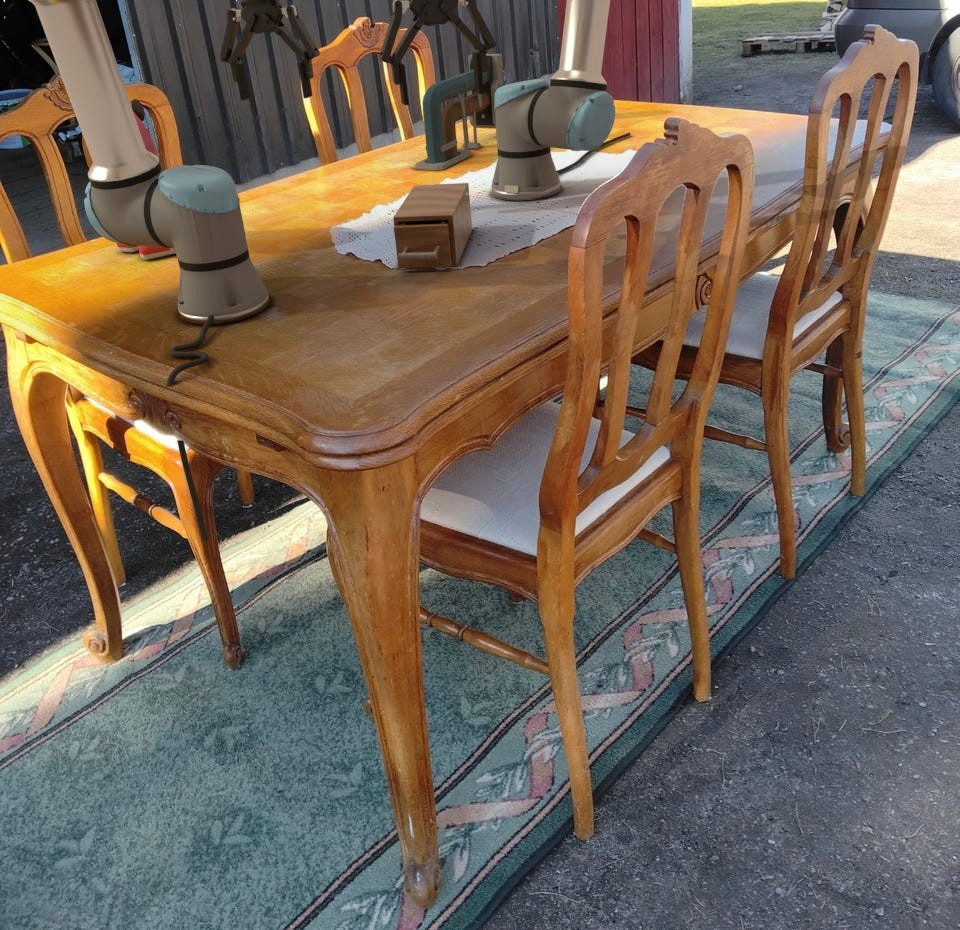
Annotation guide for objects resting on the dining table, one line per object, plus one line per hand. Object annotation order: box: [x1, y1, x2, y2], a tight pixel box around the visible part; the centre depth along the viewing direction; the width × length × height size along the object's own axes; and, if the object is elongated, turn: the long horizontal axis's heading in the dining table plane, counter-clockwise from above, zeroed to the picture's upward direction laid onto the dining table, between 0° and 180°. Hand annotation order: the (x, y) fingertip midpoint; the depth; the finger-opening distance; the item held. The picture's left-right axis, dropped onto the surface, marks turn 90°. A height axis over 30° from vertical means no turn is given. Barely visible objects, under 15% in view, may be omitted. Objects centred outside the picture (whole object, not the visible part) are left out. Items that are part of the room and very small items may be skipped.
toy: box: [81, 98, 176, 260], centre depth 191 cm, size 21×10×30 cm, turn 47°
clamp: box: [413, 53, 504, 171], centre depth 247 cm, size 35×9×21 cm, turn 151°
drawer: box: [393, 220, 452, 269], centre depth 179 cm, size 25×10×8 cm, turn 173°
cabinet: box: [392, 182, 473, 267], centre depth 184 cm, size 21×11×9 cm, turn 173°
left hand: (276, 98), depth 192 cm, fingers open, 13 cm apart
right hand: (442, 98), depth 170 cm, fingers open, 13 cm apart
